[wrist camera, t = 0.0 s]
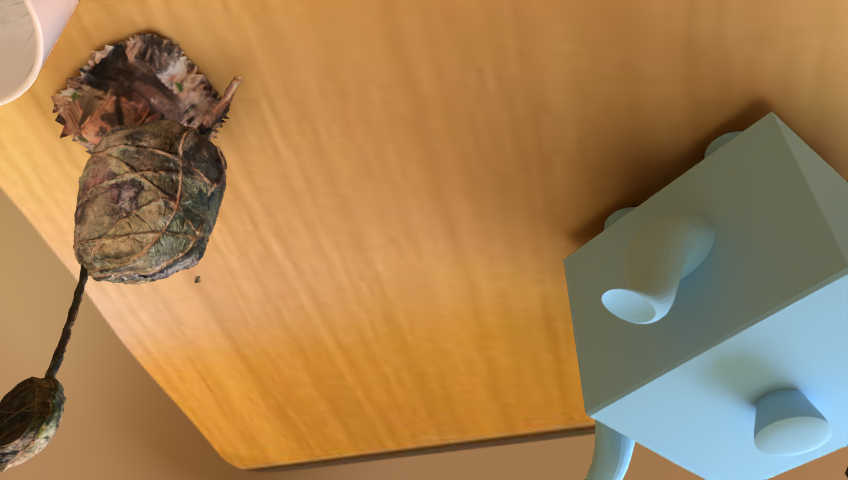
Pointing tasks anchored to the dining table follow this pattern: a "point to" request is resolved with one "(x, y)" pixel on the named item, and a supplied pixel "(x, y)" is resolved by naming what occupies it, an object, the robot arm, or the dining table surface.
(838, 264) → the teakettle
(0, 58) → the white cup
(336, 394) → the dining table surface
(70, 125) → the brown figurine
